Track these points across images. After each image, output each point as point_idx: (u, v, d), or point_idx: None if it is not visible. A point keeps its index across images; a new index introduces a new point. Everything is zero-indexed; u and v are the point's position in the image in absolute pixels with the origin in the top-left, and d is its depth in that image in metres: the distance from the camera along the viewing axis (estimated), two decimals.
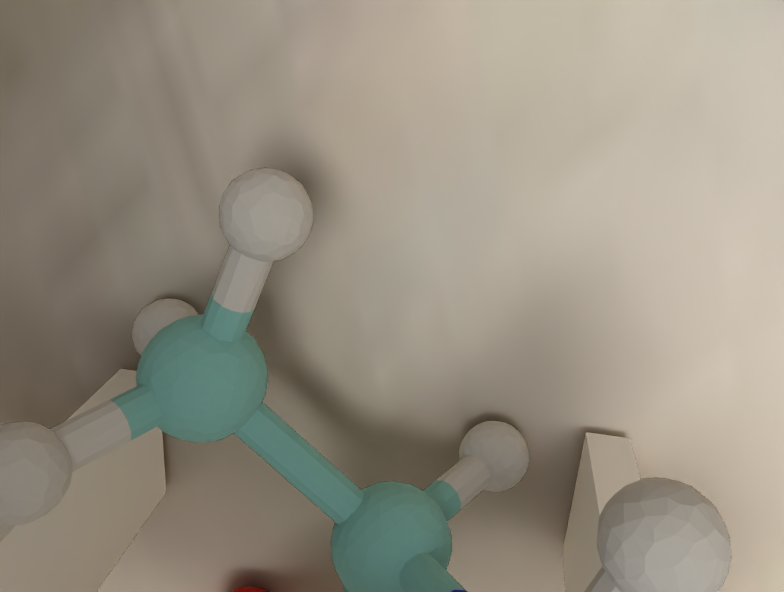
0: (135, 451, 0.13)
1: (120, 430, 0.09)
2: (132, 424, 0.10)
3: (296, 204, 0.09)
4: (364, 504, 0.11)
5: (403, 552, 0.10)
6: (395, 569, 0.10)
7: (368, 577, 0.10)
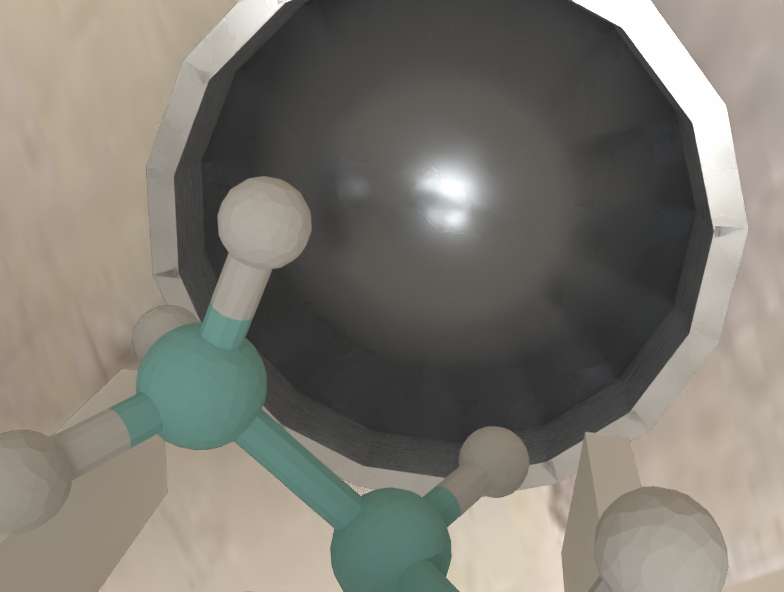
0: (137, 451, 0.13)
1: (120, 438, 0.10)
2: (132, 432, 0.10)
3: (295, 213, 0.09)
4: (364, 511, 0.11)
5: (402, 559, 0.10)
6: (394, 576, 0.10)
7: (368, 584, 0.10)
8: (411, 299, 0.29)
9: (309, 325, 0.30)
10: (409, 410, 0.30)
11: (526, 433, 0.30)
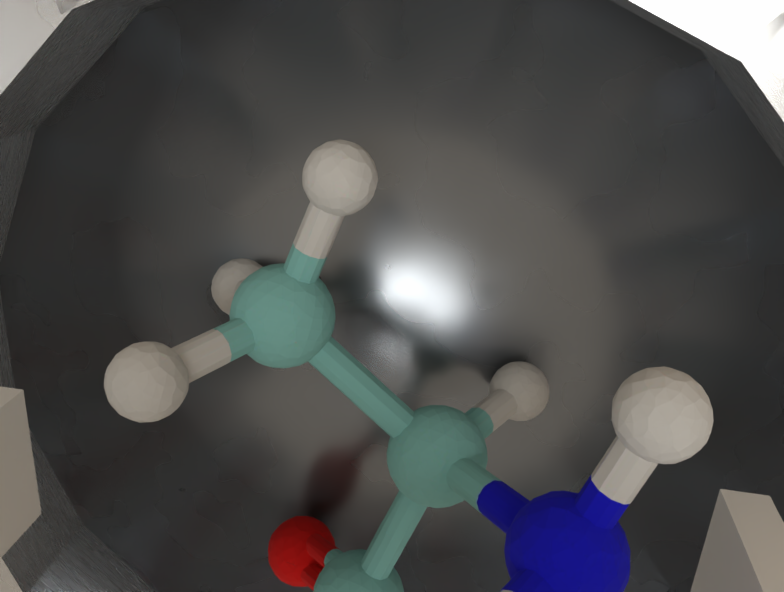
0: None
1: (223, 352, 0.12)
2: (232, 347, 0.12)
3: (366, 168, 0.12)
4: (416, 420, 0.13)
5: (450, 456, 0.13)
6: (443, 470, 0.12)
7: (421, 477, 0.13)
8: (349, 491, 0.17)
9: (190, 521, 0.19)
10: None
11: None
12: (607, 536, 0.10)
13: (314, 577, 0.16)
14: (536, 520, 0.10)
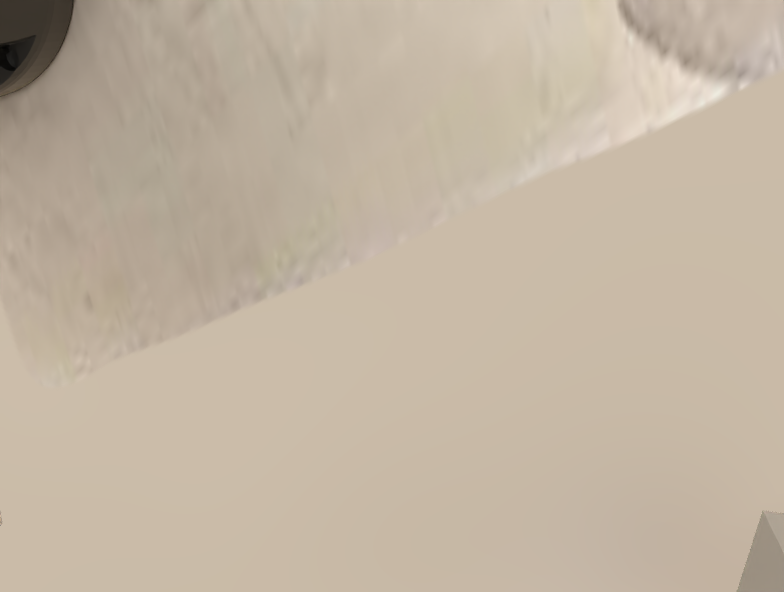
0: None
1: None
2: None
3: None
4: None
5: None
6: None
7: None
8: None
9: None
10: None
11: None
12: None
13: None
14: None
